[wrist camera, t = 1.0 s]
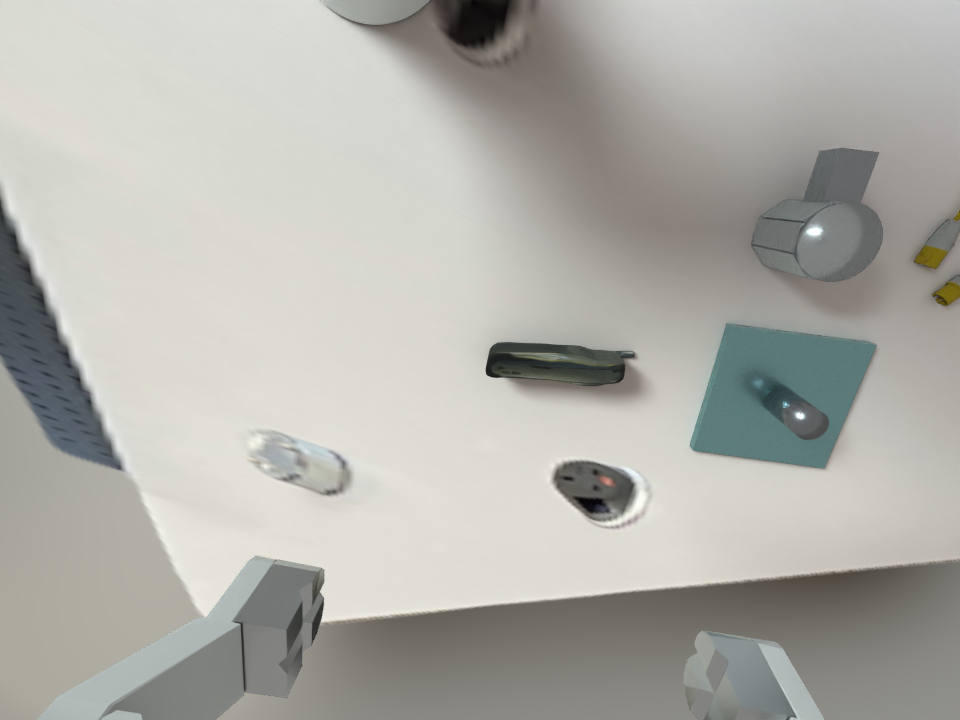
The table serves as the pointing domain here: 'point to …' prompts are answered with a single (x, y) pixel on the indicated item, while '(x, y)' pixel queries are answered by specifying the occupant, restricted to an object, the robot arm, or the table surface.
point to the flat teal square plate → (779, 395)
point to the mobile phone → (556, 363)
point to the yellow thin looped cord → (942, 257)
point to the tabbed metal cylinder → (824, 222)
